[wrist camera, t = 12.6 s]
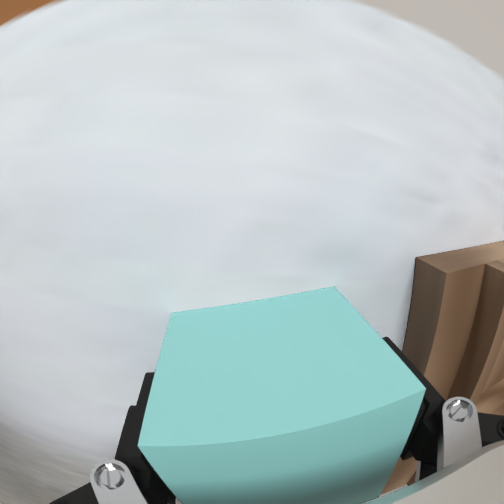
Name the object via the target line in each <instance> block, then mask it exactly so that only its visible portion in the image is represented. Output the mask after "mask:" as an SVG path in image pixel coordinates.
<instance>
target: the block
mask: <svg viewBox="0 0 504 504" xmlns="http://www.w3.org/2000/svg"><path fill="white" fill-rule="evenodd" d="M425 391H426V388H425V387H424V385H423V384H422V383H421V382H420V381H419V380H418V378H417V377H416V376H415V375H414V374H413V373H412V371H411V370H410V369H409V368H408V367H407V366H406V365H405V363H404V362H403V361H402V360H401V359H400V358H399V357H398V355H397V354H396V353H395V352H394V351H393V350H392V349H391V348H390V346H389V345H388V344H387V343H386V342H385V341H384V340H383V339H382V338H381V336H380V335H379V334H378V333H377V332H376V331H375V330H374V329H373V328H372V326H371V325H370V324H369V323H368V322H367V321H366V320H365V319H364V318H363V317H362V315H361V314H360V313H359V312H358V311H357V310H356V309H355V308H354V307H353V306H352V305H351V304H350V302H349V301H348V300H347V299H346V298H345V297H344V296H343V295H342V294H341V293H340V292H339V291H338V290H337V289H336V288H335V286H333V287H328V288H323V289H318V290H313V291H307V292H302V293H296V294H291V295H285V296H280V297H274V298H268V299H262V300H256V301H250V302H244V303H237V304H231V305H224V306H217V307H211V308H204V309H196V310H189V311H181V312H174V313H171V317H170V320H169V324H168V327H167V331H166V334H165V338H164V341H163V345H162V348H161V352H160V356H159V359H158V363H157V367H156V371H155V374H154V378H153V382H152V386H151V390H150V394H149V398H148V402H147V406H146V411H145V415H144V419H143V424H142V428H141V433H140V437H139V442H138V447H139V449H140V450H141V452H142V453H143V455H144V456H145V457H146V459H147V460H148V462H149V463H150V464H151V466H152V467H153V468H154V470H155V471H156V472H157V474H158V475H159V476H160V478H161V479H162V480H163V481H164V483H165V484H166V485H167V486H168V488H169V489H170V490H171V491H172V493H173V494H174V495H175V496H176V497H177V498H178V500H179V501H180V502H181V503H182V504H362V503H365V502H367V501H370V500H373V499H375V498H378V497H379V496H380V494H381V492H382V490H383V489H384V487H385V485H386V483H387V481H388V479H389V477H390V475H391V473H392V472H393V470H394V467H395V465H396V463H397V461H398V459H399V457H400V455H401V453H402V451H403V448H404V446H405V444H406V441H407V439H408V437H409V434H410V432H411V429H412V427H413V424H414V422H415V419H416V416H417V414H418V411H419V408H420V405H421V403H422V400H423V397H424V394H425Z"/></svg>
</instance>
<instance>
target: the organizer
mask: <svg viewBox="0 0 504 504" xmlns="http://www.w3.org/2000/svg"><path fill="white" fill-rule="evenodd" d="M402 353H403V354H404V355H405V356H406V357H407V358H408V359H409V360H410V361H411V363H412V364H413V365H414V366H415V367H416V368H417V369H418V370H419V371H420V372H421V373H422V375H423V376H424V377H425V378H426V379H427V380H428V381H429V382H430V383H431V385H432V386H433V387H434V388H435V389H436V390H437V391H438V393H439V394H440V395H441V396H442V397H443V398H444V399H445V401H447V400H448V399H450V398H453V397H464V398H467V399H469V400H470V401H472V402H473V403H474V405H475V406H476V409H477V412H480V413H487V414H495V415H504V241H500V242H495V243H490V244H485V245H480V246H475V247H469V248H464V249H459V250H453V251H448V252H443V253H437V254H431V255H426V256H420V257H416V265H415V275H414V284H413V292H412V300H411V307H410V313H409V320H408V326H407V331H406V337H405V342H404V347H403V352H402ZM416 467H417V460H415V458H414V457H411V458H409V459H407V460H404V461H403V460H402V459H401V457H399V459H398V461H397V463H396V465H395V467H394V470H393V472H392V473H391V475H390V477H389V479H388V481H387V483H386V485H385V487H384V489H383V490H382V492H381V494H383V493H386V492H388V491H391V490H393V489H395V488H398V487H400V486H402V485H404V484H407V485H408V486H410V485H412V484H414V483H415V476H416ZM381 494H380V495H381Z"/></svg>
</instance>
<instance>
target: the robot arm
mask: <svg viewBox="0 0 504 504" xmlns="http://www.w3.org/2000/svg"><path fill="white" fill-rule="evenodd" d="M382 339H383V340H384V341H385V342H386V343H387V344H388V345H389V346H390V348H391V349H392V350H393V351H394V352H395V353H396V354H397V355H398V357H399V358H400V359H401V360H402V361H403V362H404V363H405V365H406V366H407V367H408V368H409V369H410V370H411V371H412V373H413V374H414V375H415V376H416V377H417V378H418V380H419V381H420V382H421V383H422V384H423V385H424V387H425V388H426V391H425V394H424V397H423V400H422V403H421V405H420V408H419V411H418V414H417V416H416V419H415V422H414V424H413V427H412V429H411V432H410V434H409V437H408V439H407V441H406V444H405V446H404V448H403V451H402V453H401V455H400V457H401V459H402V460H403V461H404V460H407V459H409V458H411V457H414V458H415V460H417V467H416V476H415V483H414V484H412V485H410V486H407V487H405V488H403V489H401V490H398V491H396V492H394V493H391V494H389V495H386V496H384V497H381V498H379V499H376V500H373V501H371V502H368V503H365V504H504V415H495V414H487V413H480V412H477V409H476V406H475V405H474V403H473V402H472V401H470V400H469V399H467V398H464V397H453V398H450V399H448V400H447V401H445V399H444V398H443V397H442V396H441V395H440V394H439V393H438V391H437V390H436V389H435V388H434V387H433V386H432V385H431V383H430V382H429V381H428V380H427V379H426V378H425V377H424V376H423V375H422V373H421V372H420V371H419V370H418V369H417V368H416V367H415V366H414V365H413V364H412V363H411V361H410V360H409V359H408V358H407V357H406V356H405V355H404V354H403V353H402V352H401V350H400V349H399V348H398V347H397V346H396V345H395V344H394V343H393V342H392V341H391V340H390V339H389V338H388V337H384V338H382ZM154 374H155V372H151V373H146V374H145V377H144V381H143V384H142V387H141V391H140V394H139V398H138V401H137V405H136V406H130V407H129V410H128V413H127V416H126V420H125V423H124V426H123V430H122V434H121V437H120V441H119V444H118V448H117V452H116V456H115V460H110V459H109V460H104V461H101V462H99V463H98V464H96V465H95V466H94V467H93V469H92V470H91V473H90V481H91V482H90V483H88V484H86V485H84V486H82V487H80V488H78V489H77V490H75V491H73V492H71V493H69V494H67V495H65V496H63V497H61V498H59V499H57V500H55V501H53V502H51V503H50V504H175V498H176V496H175V495H174V494H173V493H172V491H171V490H170V489H169V488H168V486H167V485H166V484H165V483H164V481H163V480H162V479H161V478H160V476H159V475H158V474H157V472H156V471H155V470H154V468H153V467H152V466H151V464H150V463H149V462H148V460H147V459H146V457H145V456H144V455H143V453H142V452H141V450H140V449H139V447H138V442H139V437H140V433H141V428H142V424H143V419H144V415H145V411H146V406H147V402H148V398H149V394H150V390H151V386H152V382H153V378H154Z"/></svg>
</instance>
